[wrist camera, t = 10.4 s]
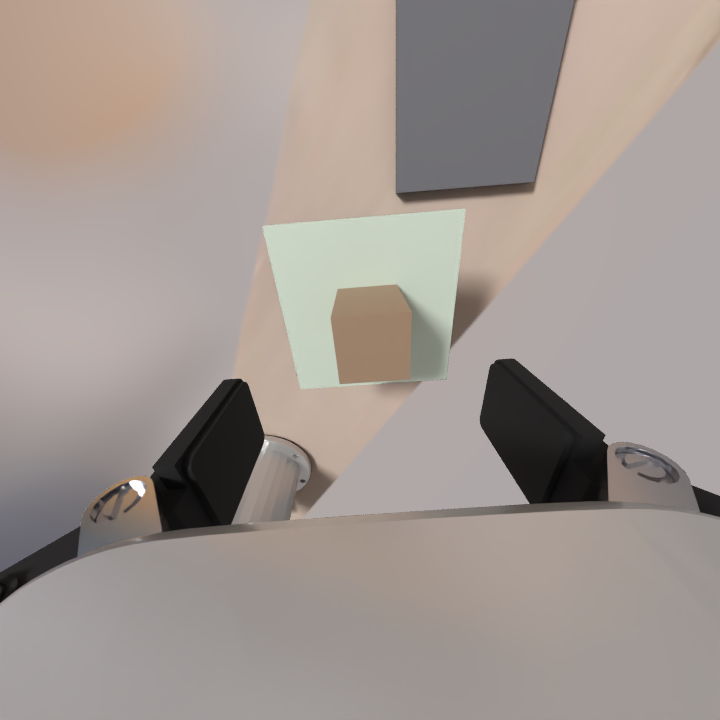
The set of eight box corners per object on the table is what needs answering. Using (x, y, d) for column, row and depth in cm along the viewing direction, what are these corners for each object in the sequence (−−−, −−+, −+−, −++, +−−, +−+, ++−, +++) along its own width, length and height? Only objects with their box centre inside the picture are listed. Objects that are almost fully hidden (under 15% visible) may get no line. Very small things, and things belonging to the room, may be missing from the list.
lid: (441, 370, 20) (472, 428, 15) (303, 380, 20) (284, 439, 15) (458, 209, 15) (516, 207, 9) (268, 225, 15) (219, 232, 10)
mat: (527, 182, 22) (534, 181, 21) (395, 193, 22) (397, 192, 21) (571, -29, 16) (583, -43, 15) (395, -12, 16) (398, -25, 15)
